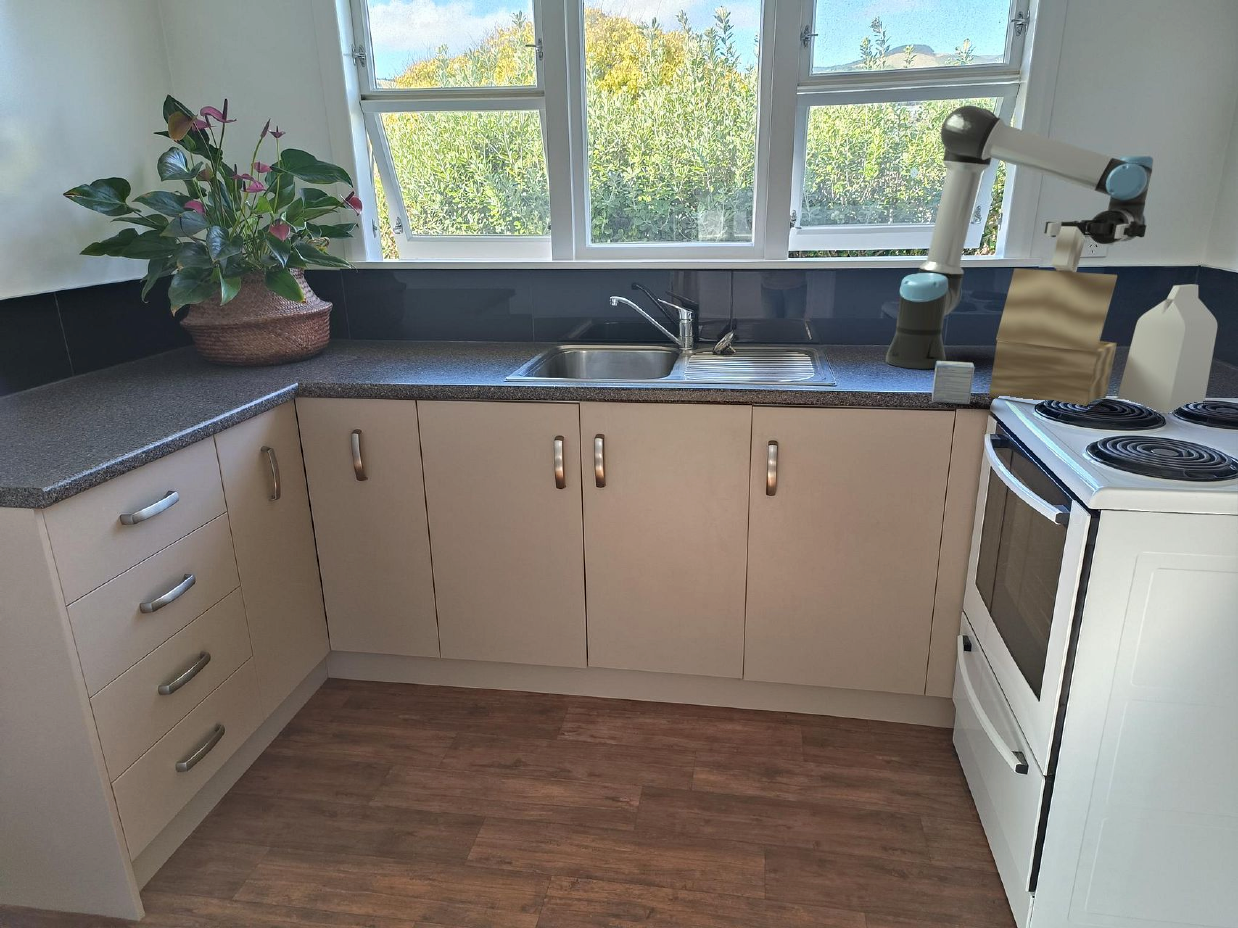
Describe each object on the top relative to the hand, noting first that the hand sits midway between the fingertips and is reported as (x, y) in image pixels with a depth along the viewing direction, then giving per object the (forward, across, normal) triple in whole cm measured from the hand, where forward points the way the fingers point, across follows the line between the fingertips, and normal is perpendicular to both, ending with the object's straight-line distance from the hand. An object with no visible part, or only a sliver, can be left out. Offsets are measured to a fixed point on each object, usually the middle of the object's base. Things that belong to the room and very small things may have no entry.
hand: (1082, 230), depth 175 cm
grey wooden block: (+22, +14, -37) cm, 46 cm away
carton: (+5, 0, -36) cm, 37 cm away
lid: (+7, 0, -13) cm, 14 cm away
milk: (-6, -20, -37) cm, 42 cm away
